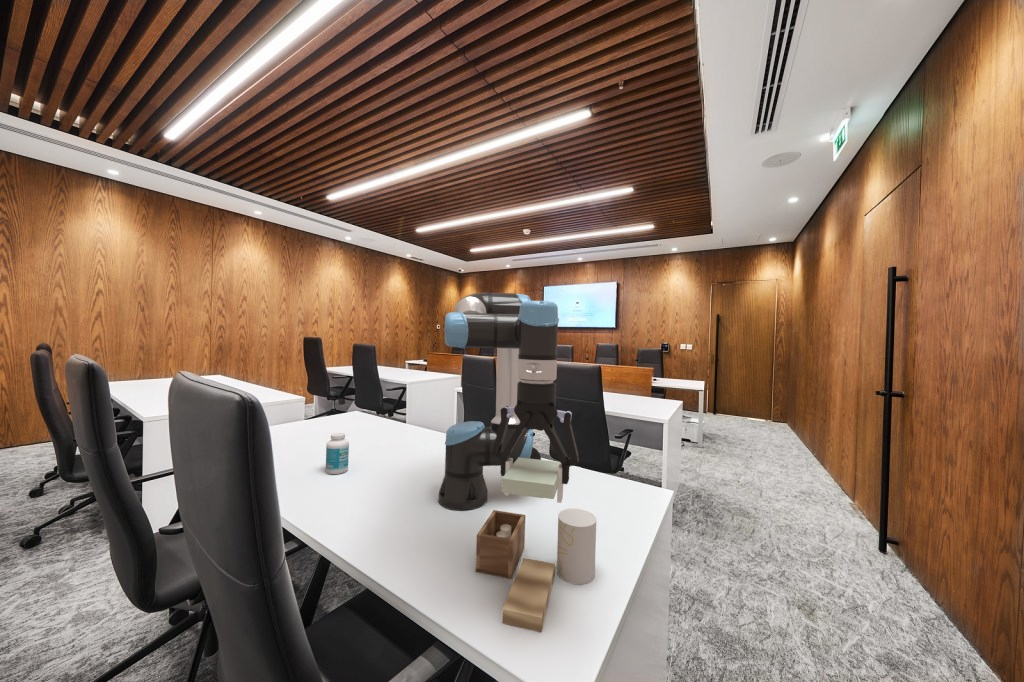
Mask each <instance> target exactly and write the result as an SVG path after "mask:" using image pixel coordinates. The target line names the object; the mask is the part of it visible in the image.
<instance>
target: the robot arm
mask: <svg viewBox="0 0 1024 682" xmlns="http://www.w3.org/2000/svg"><path fill="white" fill-rule="evenodd" d="M558 308H559V307H558V304H557V303H555V302H554V301H549V300H547V301H546V300H532V299H531V298H530V296H529V295H526V294H521V293H515V292H514V293H511V292H510V293H508V292H507V293H505V292H504V293H503V292H484V291H483V292H476V293H472V294H469V295H465V296H464V297H462V298H460V300H458V301H457V303H456V305H455V306H454V309H453V312H452V311H450V312H447V313H446V314H445V317H444V343H445V345H446V346H447V347H450V348H459V349H464V348H468V349H469V348H473V349H474V348H475V349H478V348H481V349H482V348H483V349H486V348H487V349H489V348H490V349H491V348H492V349H496V383H495V384H496V387H495V388H496V390H495V391H496V392H495V393H496V394H495V396H496V397H495V416H494V417H493V418H492V419H491V421H490V426H489V427H488V426H487V427H486V426H485V423H484V422H482V421H475V420H470V421H469V420H468V421H464V422H458V423H456V424H453V425H451V426H449V427H448V428H447V430H446V433H445V441H444V445H445V457H444V458H445V459H444V461H445V462H444V463H445V464H444V476H443V478H442V479H443V480H442V483H441V485H440V487H439V491H438V498H437V500H438V504H440V505H441V506H442V507H444V508H446V509H448V510H449V509H450V510H453V511H468V510H474V509H478V508H481V507H482V506H484V505H485V504H487V502H488V499H489V492H488V488H487V484H486V481H485V477H484V467H493V466H494V467H497V466H499V467H500V476H501V477H503V476H504V475H505V474H506V473H507V471H508V470H509V469H510V468H511V466H512V465H513V464H514V462H515V461H516V460H517V459H518V457H519V458H528V459H530V456H531V452H532V447H534V446H533V444H534V430H536V431H538V432H539V431H540V432H541V431H544V433H545V435H546V436H547V437H548V439H549V442H550V444H551V446H552V447H553V450H554V452H555V454H556V455H557V458H558V460H559V462H561V463H560V464H559V467H558V489H557V491H556V503H557V504H561V503H562V501H563V498H564V485H568V483H569V481H570V467H573V466H574V467H575V466H578V464H579V461H580V457H579V450H578V447H577V443H576V439H575V434H574V429H573V425H572V417H573V412H572V411H571V410H567V411H565V410H559V409H558V407H557V404H556V403H557V384H556V383H555V382H554V381H556V380H557V376H558V375H557V373H558V372H557V371H558V368H557V367H558V359H557V358H558V336H559V335H558V329H559V327H558V326H559V321H560V318H559V309H558ZM556 418H559V421H560V423H563V431H564V434H565V435H564V436H565V439H566V444H567V448H568V452H569V456H570V457H569V456H568V454H567V452H566V450H565V448H564V446H563V444H562V442H561V440H560V438H559V436H558V434H557V431H556V429H555V426H554V423H553V422H554V420H555V419H556ZM510 494H511V493H504V496H510Z"/></svg>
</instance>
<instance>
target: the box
mask: <svg viewBox="0 0 1024 682" xmlns="http://www.w3.org/2000/svg"><path fill="white" fill-rule="evenodd" d="M525 536H526V514H521V513H516V512H509V511H504V510H503V511H502V510H496V509H493V510H492V512H491V513H490V515H489V516H488V518H487V519H486V520H485V522H484V523H483V524H482V526H481V528H480V529H479V531H478V532H477V533H476V542H475V543H476V545H475V550H476V551H475V573H480V574H485V575H487V576H488V575H490V576H494V577H498V578H503V579H504V578H505V579H508V580H509V579H510V580H512V579H513V576H514V574H515V572H516V569H517V567H518V565H519V563H520V559H521V557H522V555H523V552H524V551H525V546H526V545H525V541H526V539H525Z"/></svg>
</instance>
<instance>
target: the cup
mask: <svg viewBox="0 0 1024 682" xmlns="http://www.w3.org/2000/svg"><path fill="white" fill-rule="evenodd" d="M557 515H558V516H557V523H558V524H557V544H556V545H557V546H556V547H557V548H556V549H557V550H556V551H557V552H556V573H557V575H558V576H559V578H561V579H562V580H563V581H565V582H567V583H569V584H573V585H587V584H589V583H591V582H592V581H593V580H594V579H595V576H596V574H595V573H596V546H597V545H596V542H597V517H596V516H595V515H594V514H593V513H592V512H590V511H588V510H586V509H580V508H567V509H566V508H565V509H563V510H561V511H559V513H558V514H557Z"/></svg>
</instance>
